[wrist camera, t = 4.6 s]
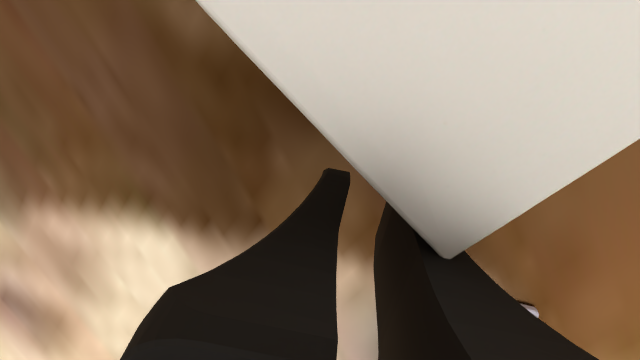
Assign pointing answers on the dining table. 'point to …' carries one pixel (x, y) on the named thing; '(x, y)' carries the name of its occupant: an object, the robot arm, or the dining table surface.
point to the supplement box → (454, 96)
